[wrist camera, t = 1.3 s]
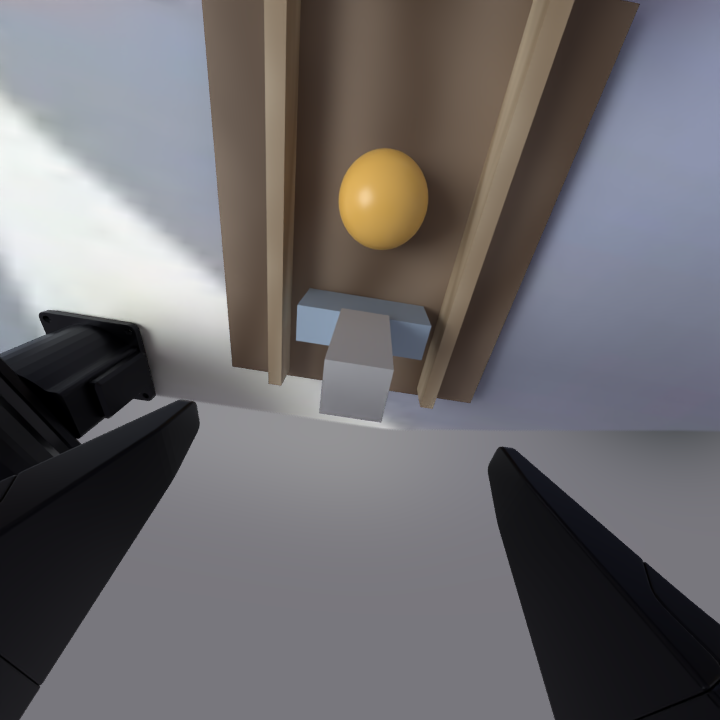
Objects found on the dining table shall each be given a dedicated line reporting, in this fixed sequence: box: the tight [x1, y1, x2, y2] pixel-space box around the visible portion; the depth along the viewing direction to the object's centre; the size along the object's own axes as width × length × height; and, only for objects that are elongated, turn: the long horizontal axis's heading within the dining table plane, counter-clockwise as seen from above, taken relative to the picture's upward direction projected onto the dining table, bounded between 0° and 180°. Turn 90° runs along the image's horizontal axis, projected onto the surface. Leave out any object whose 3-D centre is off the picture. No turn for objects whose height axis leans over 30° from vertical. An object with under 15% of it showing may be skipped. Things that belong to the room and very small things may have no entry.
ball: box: [339, 148, 428, 250], centre depth 13 cm, size 4×4×4 cm
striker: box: [296, 288, 431, 422], centre depth 14 cm, size 7×2×8 cm, turn 82°
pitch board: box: [202, 0, 640, 409], centre depth 15 cm, size 17×20×3 cm
